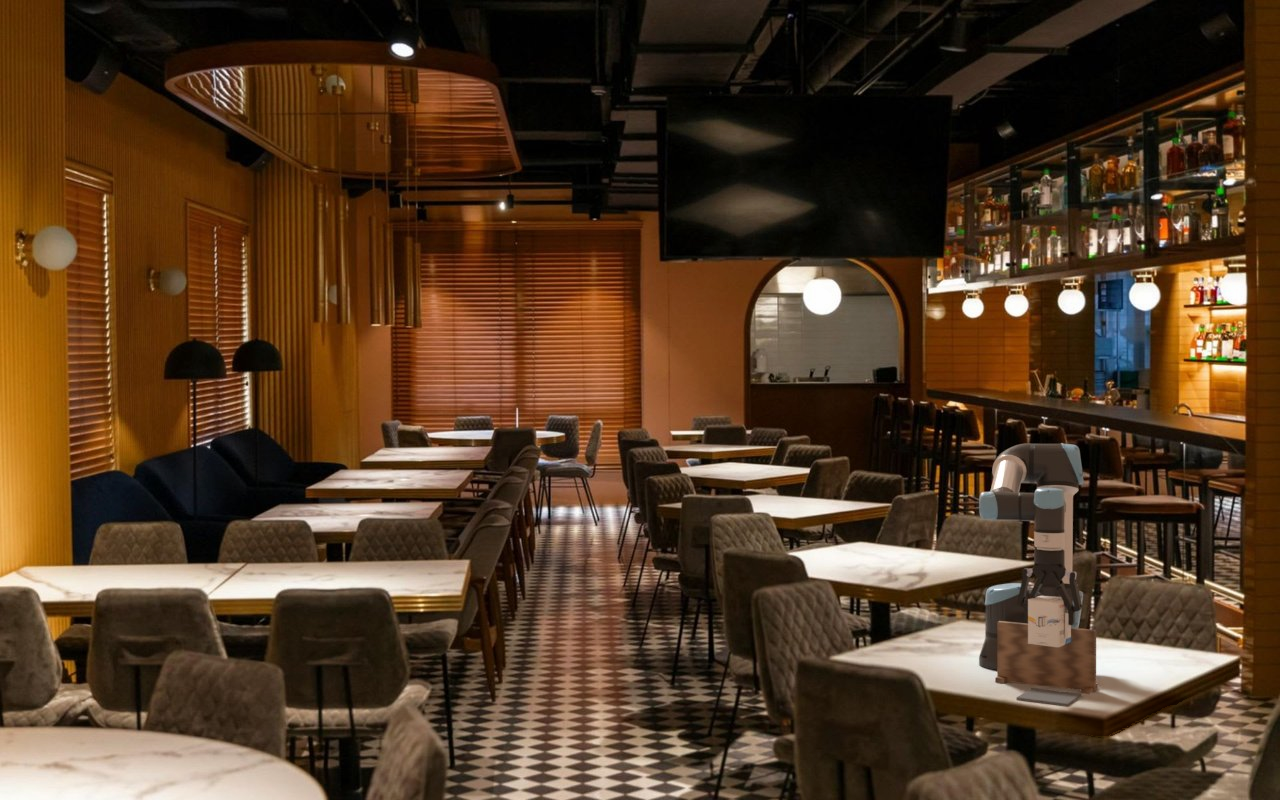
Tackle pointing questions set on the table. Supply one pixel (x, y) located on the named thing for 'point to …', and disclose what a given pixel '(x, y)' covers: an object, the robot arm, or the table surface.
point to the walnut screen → (1046, 659)
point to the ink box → (1047, 621)
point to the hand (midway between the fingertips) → (1049, 635)
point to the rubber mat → (1049, 696)
